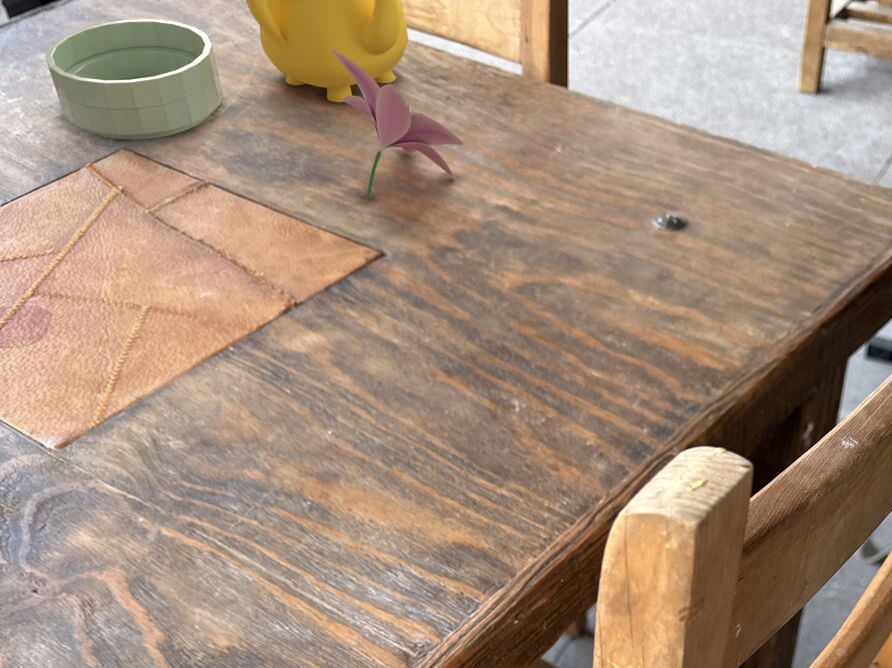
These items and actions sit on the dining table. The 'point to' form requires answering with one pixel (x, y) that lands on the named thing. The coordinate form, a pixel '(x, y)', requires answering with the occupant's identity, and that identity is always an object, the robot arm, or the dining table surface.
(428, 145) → the lily
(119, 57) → the bowl
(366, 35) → the yellow rounded piece
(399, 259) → the dining table surface
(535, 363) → the dining table surface
